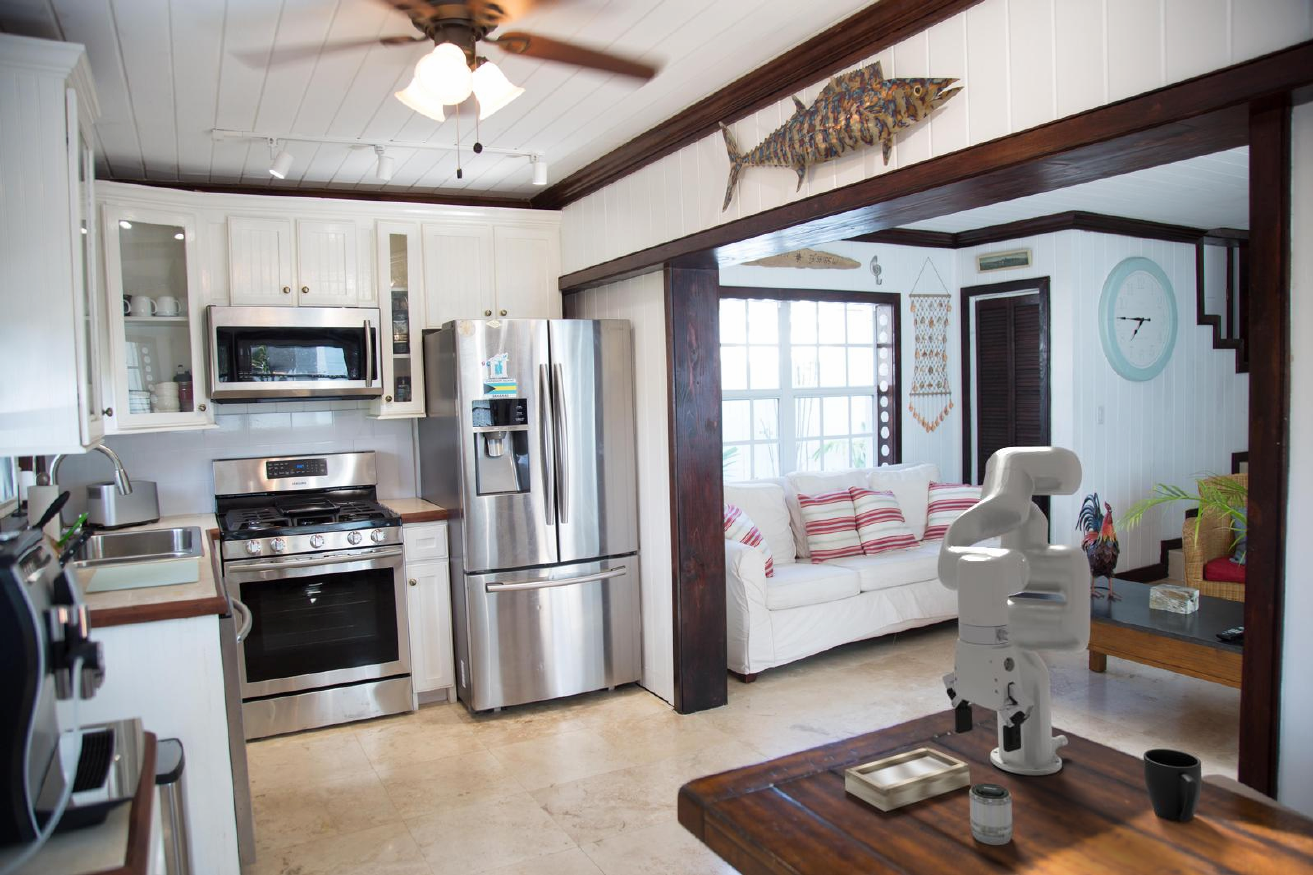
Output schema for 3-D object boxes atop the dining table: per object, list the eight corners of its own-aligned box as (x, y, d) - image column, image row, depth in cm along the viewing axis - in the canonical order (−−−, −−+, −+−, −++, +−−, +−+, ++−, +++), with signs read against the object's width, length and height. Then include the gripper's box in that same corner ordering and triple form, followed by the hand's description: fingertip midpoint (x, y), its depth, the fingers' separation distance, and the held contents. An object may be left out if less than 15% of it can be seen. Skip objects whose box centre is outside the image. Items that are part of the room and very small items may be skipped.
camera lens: (1013, 848, 137) (1011, 798, 137) (970, 843, 139) (968, 793, 139) (1012, 830, 143) (1011, 782, 143) (971, 825, 145) (969, 778, 145)
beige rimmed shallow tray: (928, 765, 170) (927, 746, 170) (969, 784, 161) (969, 764, 161) (845, 790, 161) (844, 770, 161) (885, 811, 152) (884, 790, 151)
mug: (1163, 836, 139) (1161, 776, 138) (1138, 803, 150) (1136, 747, 150) (1221, 839, 137) (1219, 778, 137) (1191, 805, 149) (1189, 749, 149)
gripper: (1046, 640, 134) (1050, 752, 135) (959, 620, 150) (963, 721, 150) (1011, 648, 131) (1015, 763, 131) (926, 626, 146) (930, 729, 147)
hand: (987, 740), depth 141 cm, fingers open, 9 cm apart
